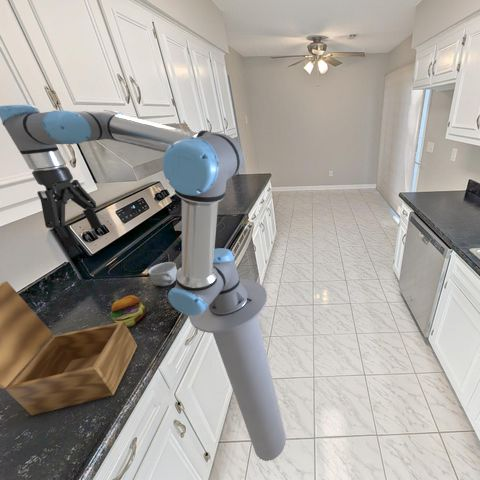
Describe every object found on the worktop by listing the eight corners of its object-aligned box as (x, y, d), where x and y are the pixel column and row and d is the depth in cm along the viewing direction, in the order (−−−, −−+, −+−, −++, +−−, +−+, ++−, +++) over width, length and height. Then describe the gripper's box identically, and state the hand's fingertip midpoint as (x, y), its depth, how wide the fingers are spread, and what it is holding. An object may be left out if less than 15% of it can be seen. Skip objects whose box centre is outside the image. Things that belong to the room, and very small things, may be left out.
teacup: (151, 282, 116) (145, 267, 113) (176, 272, 123) (171, 258, 119) (159, 296, 107) (152, 280, 103) (185, 284, 113) (180, 269, 110)
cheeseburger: (113, 334, 89) (101, 309, 86) (119, 321, 98) (108, 299, 95) (146, 321, 93) (136, 297, 91) (149, 310, 103) (139, 288, 100)
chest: (137, 345, 84) (123, 321, 79) (113, 395, 69) (94, 368, 64) (71, 360, 80) (52, 335, 75) (31, 415, 66) (5, 389, 61)
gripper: (62, 162, 80) (93, 223, 90) (-7, 179, 59) (44, 257, 68) (89, 159, 82) (117, 220, 92) (32, 176, 60) (76, 252, 70)
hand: (86, 236), depth 80 cm, fingers open, 13 cm apart
